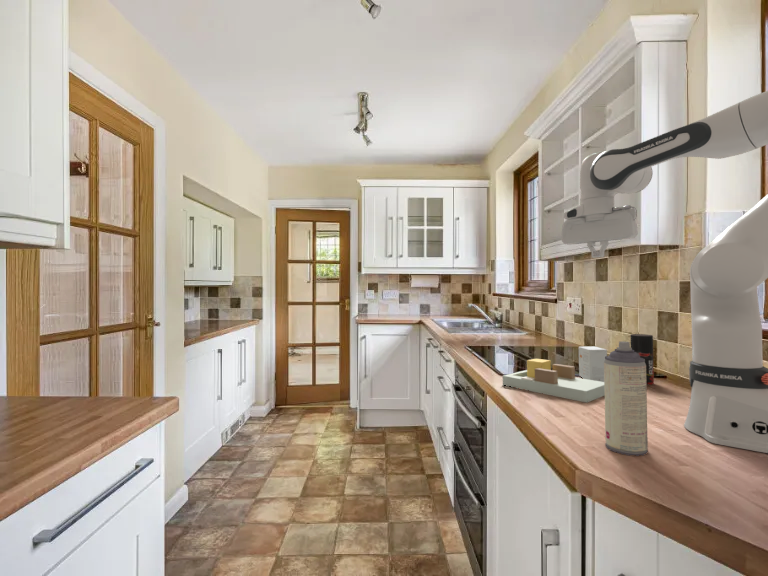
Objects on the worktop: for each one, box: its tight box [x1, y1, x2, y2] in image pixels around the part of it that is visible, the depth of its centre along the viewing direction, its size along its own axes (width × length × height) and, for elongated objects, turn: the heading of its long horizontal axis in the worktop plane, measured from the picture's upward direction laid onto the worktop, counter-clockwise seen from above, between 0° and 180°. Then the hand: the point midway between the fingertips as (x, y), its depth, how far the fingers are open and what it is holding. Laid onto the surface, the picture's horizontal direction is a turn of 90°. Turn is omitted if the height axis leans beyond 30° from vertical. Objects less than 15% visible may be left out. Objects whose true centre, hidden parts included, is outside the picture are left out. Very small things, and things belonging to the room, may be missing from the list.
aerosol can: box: [604, 341, 649, 457], centre depth 76 cm, size 7×7×20 cm
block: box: [526, 358, 552, 378], centre depth 125 cm, size 5×5×5 cm
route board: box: [502, 363, 605, 404], centre depth 121 cm, size 26×14×6 cm, turn 38°
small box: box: [578, 345, 608, 382], centre depth 132 cm, size 8×6×10 cm
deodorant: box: [630, 333, 655, 386], centre depth 127 cm, size 6×6×15 cm
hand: (597, 257), depth 118 cm, fingers closed
